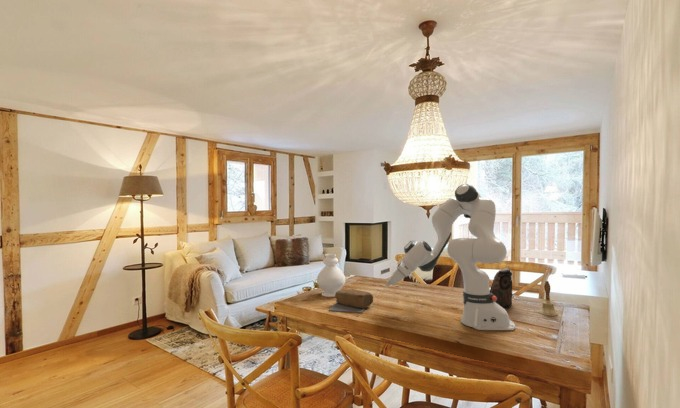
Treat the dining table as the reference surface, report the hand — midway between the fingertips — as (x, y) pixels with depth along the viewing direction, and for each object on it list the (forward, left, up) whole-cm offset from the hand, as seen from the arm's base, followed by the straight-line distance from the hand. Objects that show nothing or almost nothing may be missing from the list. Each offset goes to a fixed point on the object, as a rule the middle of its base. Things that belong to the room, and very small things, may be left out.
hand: (387, 285), depth 179 cm
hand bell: (-78, -12, -14) cm, 80 cm away
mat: (+21, -2, -13) cm, 25 cm away
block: (+10, -1, -9) cm, 13 cm away
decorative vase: (+39, -26, -14) cm, 49 cm away
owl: (-58, -23, -14) cm, 64 cm away
